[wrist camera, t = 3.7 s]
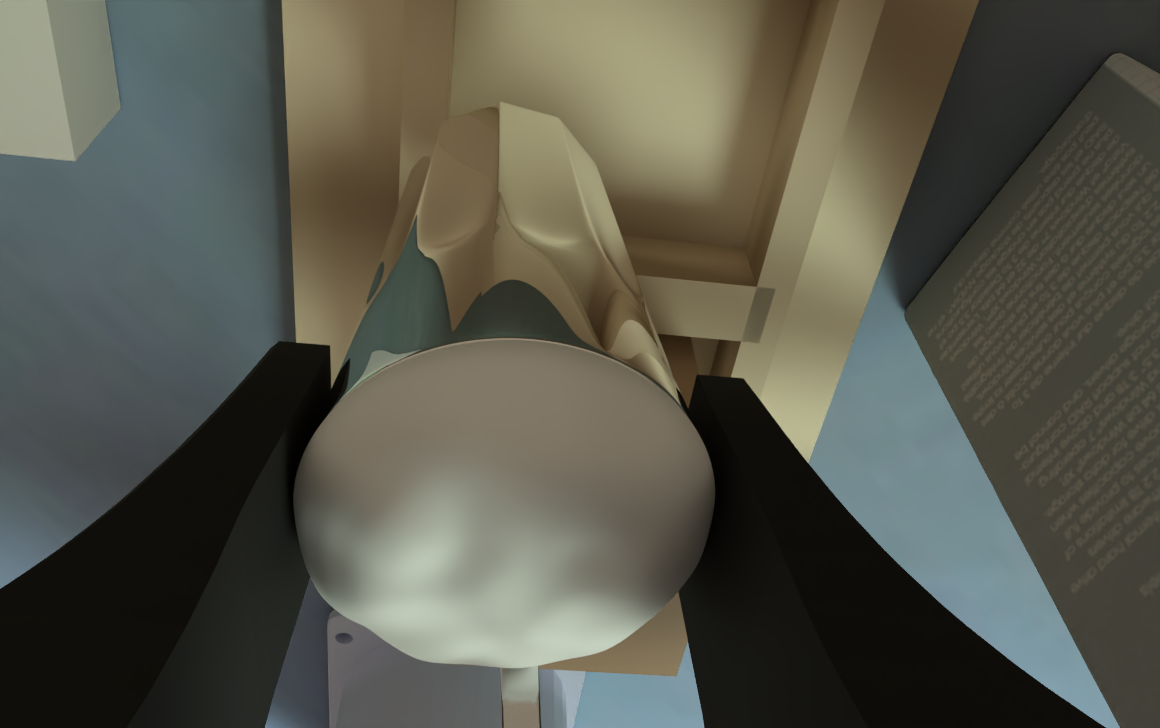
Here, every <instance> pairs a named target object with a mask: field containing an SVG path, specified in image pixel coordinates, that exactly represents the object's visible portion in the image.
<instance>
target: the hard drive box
mask: <svg viewBox="0 0 1160 728" xmlns="http://www.w3.org/2000/svg"><path fill="white" fill-rule="evenodd" d="M904 316H905V320H906V322H907V324H908V325H909V327H910V329H911V331H912V333H913V335H914V337H915V339H916V341H917V343H918V345H919V347H920V349H921V351H922V353H923V355H924V356H925V358H926V360H927V362H928V364H929V366H930V368H931V370H932V372H933V374H934V376H935V378H936V379H937V381H938V383H939V385H940V387H941V389H942V391H943V393H944V394H945V396H946V398H947V400H948V402H949V404H950V406H951V408H952V410H953V411H954V413H955V415H956V417H957V419H958V421H959V423H960V425H961V427H962V428H963V430H964V432H965V434H966V436H967V438H968V440H969V442H970V444H971V445H972V447H973V449H974V451H975V453H976V455H977V457H978V459H979V461H980V463H981V465H982V467H983V469H984V471H985V473H986V474H987V476H988V478H989V480H990V482H991V483H992V485H993V487H994V489H995V491H996V493H997V496H998V498H999V500H1000V502H1001V504H1002V505H1003V507H1004V509H1005V511H1006V513H1007V515H1008V517H1009V518H1010V520H1011V522H1012V524H1013V526H1014V528H1015V530H1016V531H1017V533H1018V535H1019V537H1020V539H1021V541H1022V543H1023V544H1024V546H1025V548H1026V550H1027V552H1028V554H1029V556H1030V558H1031V559H1032V561H1033V563H1034V565H1035V567H1036V569H1037V571H1038V573H1039V575H1040V577H1041V578H1042V580H1043V582H1044V584H1045V586H1046V588H1047V590H1048V592H1049V594H1050V596H1051V598H1052V600H1053V601H1054V603H1055V605H1056V607H1057V609H1058V611H1059V613H1060V615H1061V617H1062V619H1063V621H1064V623H1065V624H1066V626H1067V628H1068V630H1069V632H1070V634H1071V636H1072V638H1073V640H1074V642H1075V644H1076V646H1077V647H1078V649H1079V651H1080V653H1081V655H1082V657H1083V659H1084V661H1085V663H1086V665H1087V667H1088V669H1089V670H1090V672H1091V674H1092V676H1093V678H1094V680H1095V682H1096V683H1097V685H1098V687H1099V689H1100V691H1101V693H1102V695H1103V697H1104V698H1105V700H1106V702H1107V704H1108V706H1109V708H1110V710H1111V711H1112V713H1113V715H1114V717H1115V719H1116V721H1117V723H1118V725H1119V726H1120V728H1160V74H1159V73H1157V72H1155V71H1154V70H1152V69H1150V68H1148V67H1146V66H1145V65H1143V64H1141V63H1139V62H1137V61H1136V60H1134V59H1132V58H1130V57H1128V56H1126V55H1125V54H1122V53H1116V54H1113V55H1111V56H1110V57H1109V58H1108V59H1107V60H1106V61H1105V62H1104V64H1103V65H1102V66H1101V67H1100V68H1099V70H1098V71H1097V72H1096V73H1095V74H1094V76H1093V77H1092V78H1091V79H1090V80H1089V82H1088V83H1087V84H1086V85H1085V86H1084V88H1083V89H1082V90H1081V91H1080V93H1079V94H1078V95H1077V96H1076V98H1075V99H1074V100H1073V101H1072V103H1071V104H1070V105H1069V106H1068V108H1067V109H1066V110H1065V111H1064V113H1063V114H1062V115H1061V116H1060V118H1059V119H1058V120H1057V121H1056V123H1055V124H1054V125H1053V126H1052V128H1051V129H1050V130H1049V131H1048V133H1047V134H1046V135H1045V136H1044V138H1043V139H1042V140H1041V141H1040V142H1039V144H1038V145H1037V146H1036V147H1035V149H1034V150H1033V151H1032V152H1031V154H1030V155H1029V156H1028V157H1027V158H1026V160H1025V161H1024V162H1023V163H1022V165H1021V166H1020V167H1019V168H1018V169H1017V171H1016V172H1015V173H1014V174H1013V176H1012V177H1011V178H1010V179H1009V181H1008V182H1007V183H1006V184H1005V186H1004V187H1003V188H1002V189H1001V191H1000V192H999V193H998V194H997V196H996V197H995V198H994V199H993V201H992V202H991V203H990V204H989V206H988V207H987V208H986V209H985V211H984V212H983V213H982V214H981V215H980V217H979V218H978V219H977V220H976V222H975V223H974V224H973V225H972V227H971V228H970V229H969V230H968V231H967V233H966V234H965V235H964V236H963V238H962V239H961V240H960V242H959V243H958V244H957V245H956V247H955V248H954V249H953V250H952V252H951V253H950V254H949V256H948V257H947V258H946V259H945V261H944V262H943V263H942V264H941V266H940V267H939V268H938V270H937V271H936V272H935V273H934V275H933V276H932V277H931V278H930V280H929V281H928V282H927V283H926V285H925V286H924V287H923V288H922V290H921V291H920V292H919V294H918V295H917V296H916V297H915V299H914V300H913V301H912V302H911V304H910V305H909V306H908V308H907V309H906V311H905V313H904Z"/></svg>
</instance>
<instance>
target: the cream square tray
mask: <svg viewBox="0 0 1160 728" xmlns="http://www.w3.org/2000/svg"><path fill="white" fill-rule="evenodd" d="M120 109H121V106H120V99H119V92H118V86H117V79H116V72H115V65H114V58H113V51H112V45H111V38H110V31H109V24H108V17H107V10H106V4H105V0H0V154H10V155H19V156H29V157H38V158H48V159H57V160H67V161H76V160H77V159H78V158H79V156H80V155H81V154H82V153H83V152H84V151H85V149H86V148H87V147H88V146H89V145H90V144H91V142H92V141H93V140H94V139H95V138H96V137H97V135H98V134H99V133H100V132H101V131H102V130H103V128H104V127H105V126H106V125H107V124H108V123H109V122H110V120H111V119H112V118H113V117H114V116H115V115H116V113H117V112H118V111H119V110H120Z"/></svg>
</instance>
